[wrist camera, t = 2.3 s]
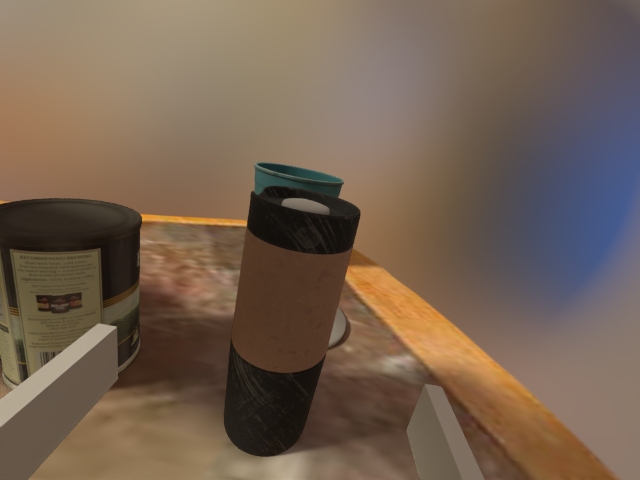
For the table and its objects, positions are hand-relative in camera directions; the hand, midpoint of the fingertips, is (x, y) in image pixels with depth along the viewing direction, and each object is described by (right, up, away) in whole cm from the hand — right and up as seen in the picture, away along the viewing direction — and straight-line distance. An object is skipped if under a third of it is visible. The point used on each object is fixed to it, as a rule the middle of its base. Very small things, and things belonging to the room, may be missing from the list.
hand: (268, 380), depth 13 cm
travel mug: (-3, -10, +14) cm, 17 cm away
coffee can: (-21, -5, +16) cm, 27 cm away
